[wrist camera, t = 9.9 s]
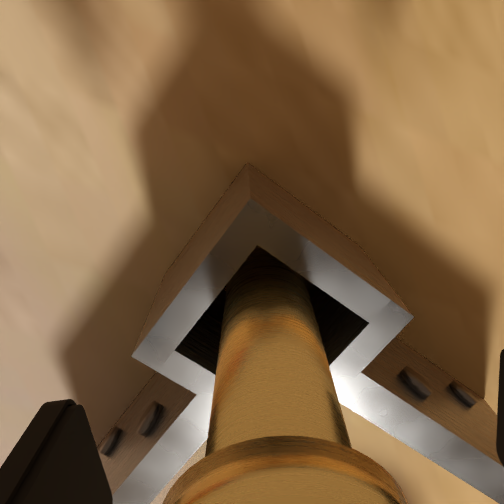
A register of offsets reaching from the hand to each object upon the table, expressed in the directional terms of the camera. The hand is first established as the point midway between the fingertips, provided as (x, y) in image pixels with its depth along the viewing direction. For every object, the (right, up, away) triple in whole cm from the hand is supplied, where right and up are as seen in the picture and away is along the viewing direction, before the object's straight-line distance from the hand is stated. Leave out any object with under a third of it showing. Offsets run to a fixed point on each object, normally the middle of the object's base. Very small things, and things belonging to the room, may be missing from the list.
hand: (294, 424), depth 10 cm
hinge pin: (0, +4, +8) cm, 9 cm away
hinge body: (+1, -3, +11) cm, 11 cm away
